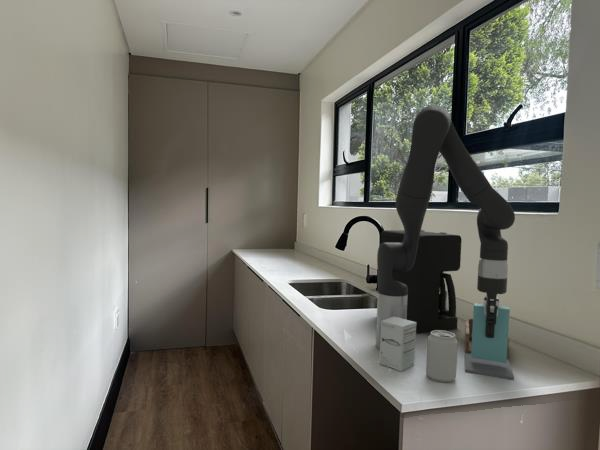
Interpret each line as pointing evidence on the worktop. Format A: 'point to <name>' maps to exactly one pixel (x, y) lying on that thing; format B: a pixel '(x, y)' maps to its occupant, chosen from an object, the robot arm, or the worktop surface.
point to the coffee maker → (430, 279)
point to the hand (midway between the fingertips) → (489, 335)
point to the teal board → (490, 346)
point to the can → (441, 356)
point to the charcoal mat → (488, 367)
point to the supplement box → (397, 343)
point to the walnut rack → (469, 336)
